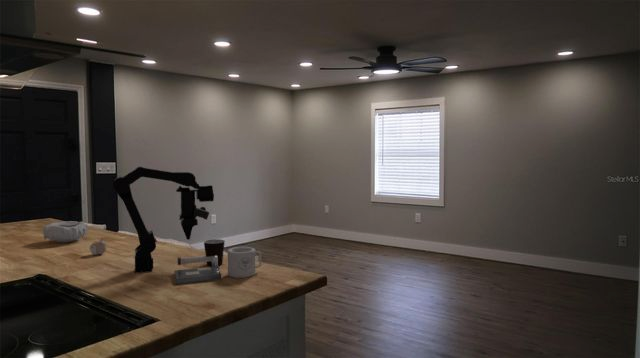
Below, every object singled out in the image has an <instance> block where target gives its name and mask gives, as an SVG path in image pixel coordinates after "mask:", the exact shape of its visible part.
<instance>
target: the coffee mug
mask: <svg viewBox="0 0 640 358" xmlns="http://www.w3.org/2000/svg"><path fill="white" fill-rule="evenodd" d="M225 242H226V241H225V240H224V239H219V238H216V239H206V240H204V241H203V246H204V253H205V256H214V255H217V256H218V267H220V266H222V265H223V260H224V250H225ZM207 265H208V266H207ZM206 266H207V267H212V261H209V262H206Z"/></svg>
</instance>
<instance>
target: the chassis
mask: <svg viewBox="0 0 640 358" xmlns="http://www.w3.org/2000/svg"><path fill="white" fill-rule="evenodd" d="M173 273H174V274H173V275H174V280H175V283H176V285H183V284H194V283H201V282H202V283H203V282H210V281H211V282H212V281H219V280H220V281H221V280H222V273H221V271H220V270H218V269H217V267H216V266H215V267H212V266H205V267H197V268H186V269H177V270H174V271H173Z"/></svg>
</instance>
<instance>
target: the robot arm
mask: <svg viewBox="0 0 640 358" xmlns="http://www.w3.org/2000/svg"><path fill="white" fill-rule="evenodd" d="M142 177H143V178H148V179H153V180H162V181H168V182H173V183H176V184H179V186H178V187H177V188H176V189H175V191H176V192H177V193H180V214H179V220H180V222H179V224H180V225H181V227H182V230H183V233H184V236H185V238H186V240H191V235H192V231H193V230H192V229H193V228H194V227H195V226H198V225H199V223H198V219H197V217H199V218H200V219H201V218H202V219H203V220H208V218H209V215H210V212H209V210H207V209H206V207H204V206H200V208H199V207H197V205H196V200H198V202H199V203H203V202H204V203H207V202H214V199H215V193H214V189H213V185H210V184H209V185H200V184H199V183H197V181H196V176H195V175H194V173H192V172H189V171H167V170H166V171H165V170H159V169H153V168H148V167H143V166H138V167H135V169H134V170H132V171H130V172H129V173H127V174H126V175H124V176H118V177H116V178H115V179H114V181H113V182H112V183H113V184H112V187H113V190H114V191H115V192H116V193H117V195H118V197H119V198H120V200H122V201H123V204H124V206H125V208H126V210H127V212H128V214H129V217H130V220H131V221H132V223H133V226H134V228H135V230H136V232H137V239H138V241H139V244H138V245H137V247H136V248H135V249H134V273H135V274H139V273H149V272H153V269H154V257H152V253H153V252H154V251H155V250H156V248H157V242H158V241H157V238H156V237H155V235H154V232H153V230H152V229H151V230H150V231H149V230H148V229H147V227H146V224H145V222H144V220H143V218H142V215H141V214H140V212H139V208H138V207H137V204H136V202H135V200H134V198H133V194H132V189H131V185H132V184H134V183H135V182H136V181H139V179H140V178H142ZM182 186H183V187H182ZM190 187H192V188H193V189H190Z"/></svg>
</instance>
